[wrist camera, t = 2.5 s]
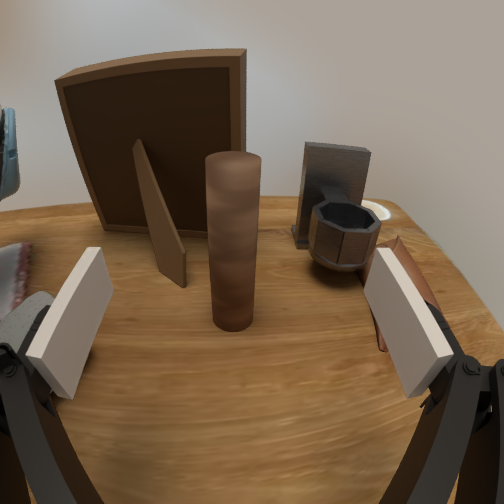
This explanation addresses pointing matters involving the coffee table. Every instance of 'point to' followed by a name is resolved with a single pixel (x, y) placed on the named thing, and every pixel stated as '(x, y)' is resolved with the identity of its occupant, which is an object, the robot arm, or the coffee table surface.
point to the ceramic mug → (23, 318)
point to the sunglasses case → (412, 272)
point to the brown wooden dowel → (232, 235)
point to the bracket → (335, 207)
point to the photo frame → (155, 140)
